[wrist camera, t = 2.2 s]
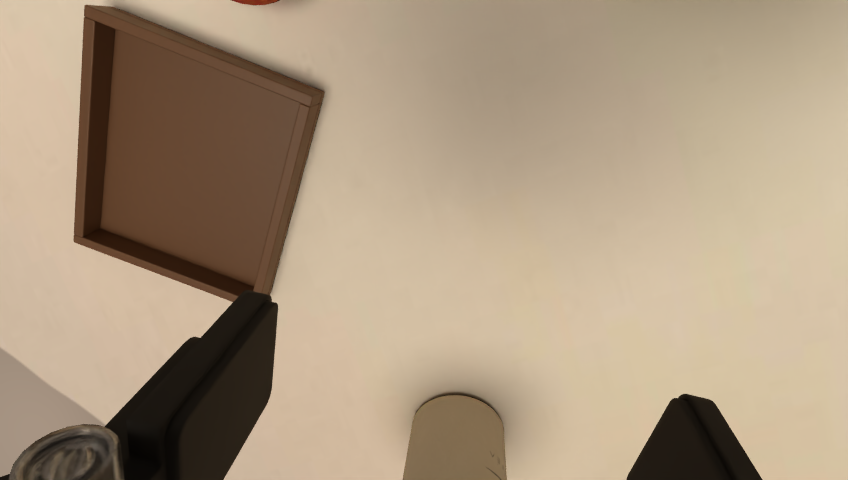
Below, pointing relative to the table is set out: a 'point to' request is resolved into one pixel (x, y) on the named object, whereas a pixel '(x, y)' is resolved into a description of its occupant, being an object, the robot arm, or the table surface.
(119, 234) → the tray
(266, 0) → the fruit
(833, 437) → the table surface
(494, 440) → the travel mug
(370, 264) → the table surface
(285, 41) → the table surface
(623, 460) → the table surface
